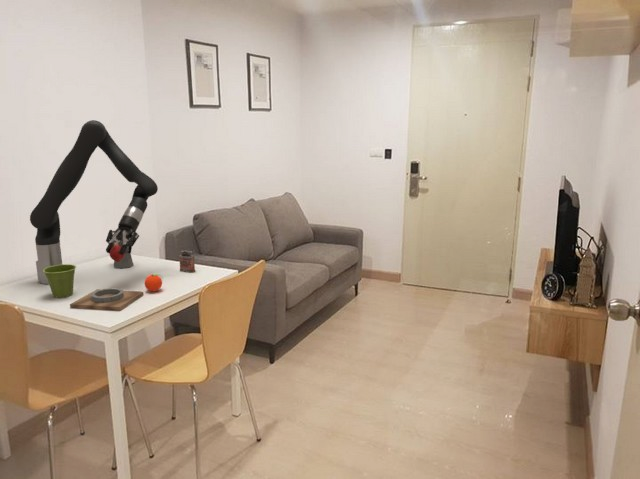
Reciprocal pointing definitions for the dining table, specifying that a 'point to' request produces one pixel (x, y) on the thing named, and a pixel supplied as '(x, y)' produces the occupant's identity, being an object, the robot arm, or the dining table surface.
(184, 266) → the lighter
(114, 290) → the ring
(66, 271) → the plant pot
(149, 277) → the clementine
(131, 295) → the board
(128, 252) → the coffeepot
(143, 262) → the dining table surface
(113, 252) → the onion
